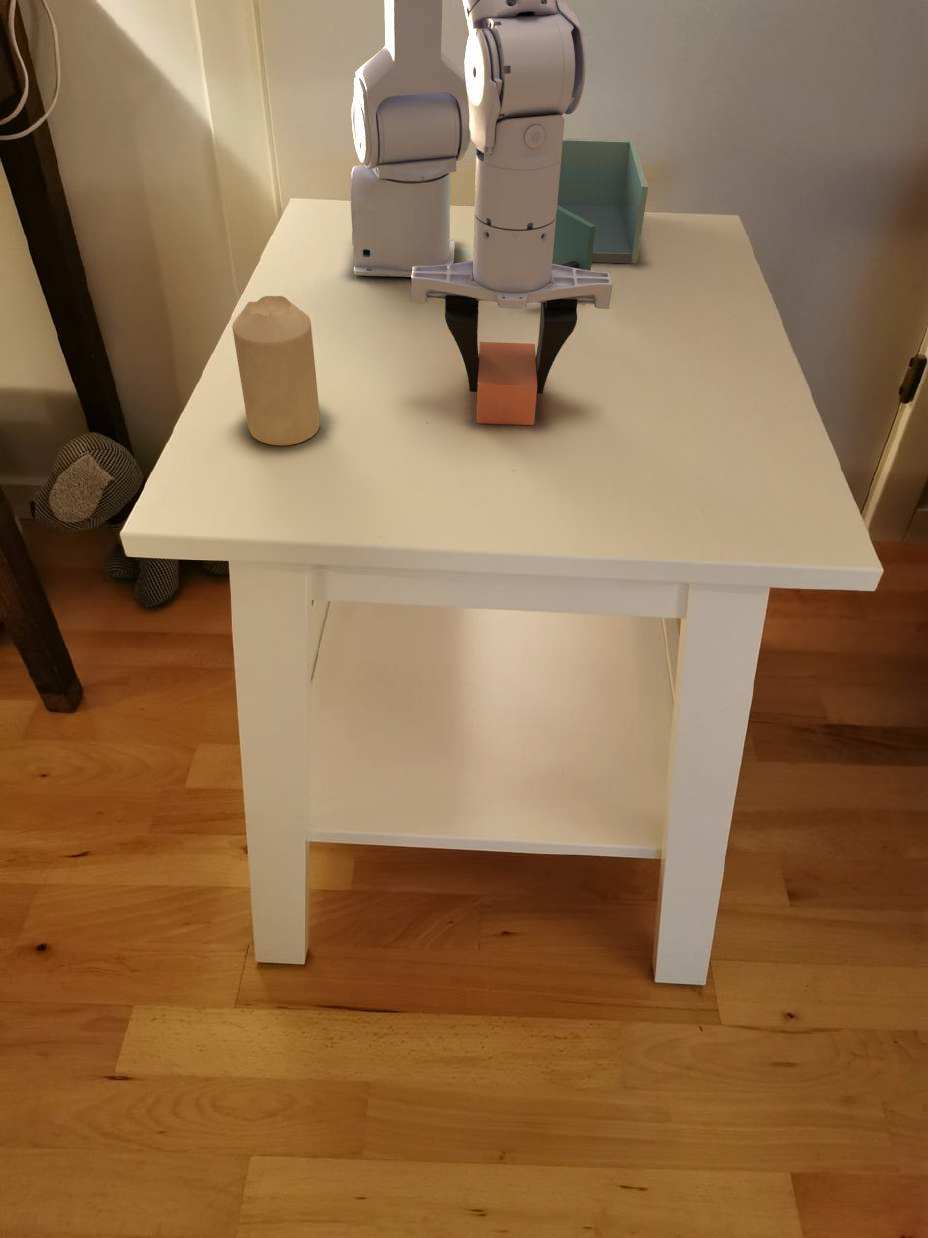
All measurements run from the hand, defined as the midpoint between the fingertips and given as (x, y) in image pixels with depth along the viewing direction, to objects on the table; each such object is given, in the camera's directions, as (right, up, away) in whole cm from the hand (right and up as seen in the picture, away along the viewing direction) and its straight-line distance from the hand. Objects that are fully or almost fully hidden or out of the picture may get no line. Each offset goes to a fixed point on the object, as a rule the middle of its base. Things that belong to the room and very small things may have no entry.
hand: (505, 386), depth 77 cm
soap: (0, -1, +1) cm, 1 cm away
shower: (+8, +22, +25) cm, 34 cm away
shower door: (+3, +14, +15) cm, 20 cm away
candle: (-17, -4, -2) cm, 18 cm away
